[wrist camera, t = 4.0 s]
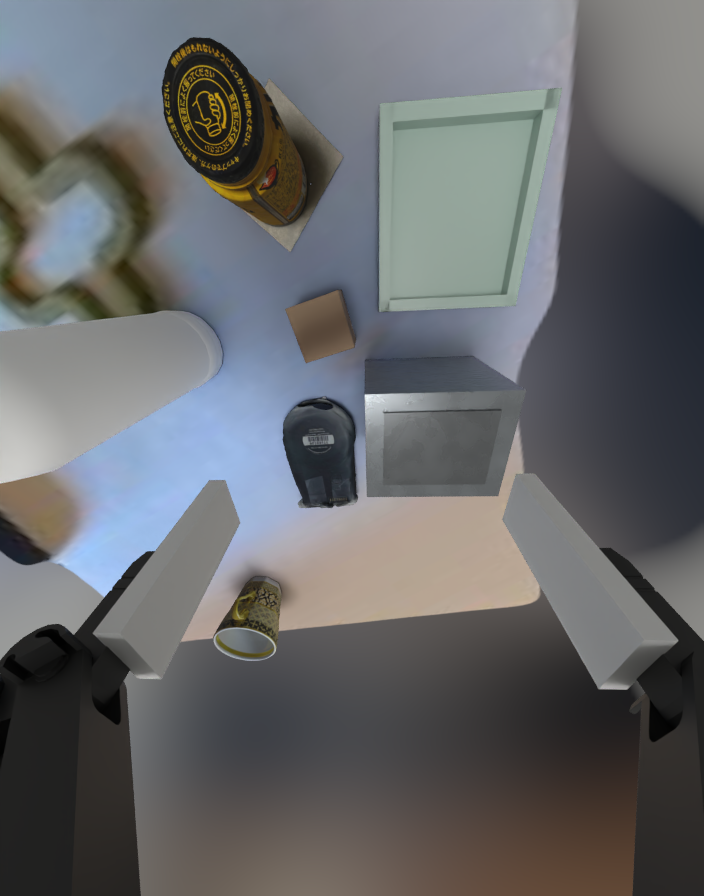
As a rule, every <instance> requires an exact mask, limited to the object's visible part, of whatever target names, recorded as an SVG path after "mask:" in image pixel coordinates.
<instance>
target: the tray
mask: <svg viewBox="0 0 704 896" xmlns="http://www.w3.org/2000/svg"><path fill="white" fill-rule="evenodd" d="M561 91H562V88H554V89H543V90H531V91H520V92H508V93H496V94H485V95H473V96H462V97H450V98H439V99H427V100H416V101H404V102H393V103H381V104H380V110H379V276H378V311H379V312H390V311H413V310H435V309H458V308H480V307H503V306H515V305H516V301H517V296H518V291H519V287H520V282H521V277H522V273H523V268H524V263H525V259H526V254H527V249H528V245H529V240H530V235H531V231H532V226H533V221H534V217H535V212H536V207H537V203H538V198H539V193H540V189H541V184H542V179H543V175H544V170H545V165H546V161H547V156H548V151H549V147H550V142H551V137H552V133H553V128H554V123H555V119H556V114H557V109H558V105H559V100H560V96H561Z"/></svg>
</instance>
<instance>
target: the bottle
mask: <svg viewBox="0 0 704 896" xmlns="http://www.w3.org/2000/svg"><path fill="white" fill-rule="evenodd" d="M222 358H223V352H222V348H221V344H220V340H219V339H218V337H217V335H216V334H215V332H214V331H213V329H212V328H211V327H210V326H209V325H208V324H207V323H206V322H205V321H204V320H203V319H202V318H200V317H198V316H196V315H194V314H192V313H190V312H184V311H177V310H176V311H169V310H168V311H159V312H156V313H151V314H143V315H134V316H126V317H118V318H110V319H101V320H93V321H85V322H76V323H68V324H60V325H51V326H43V327H35V328H26V329H18V330H10V331H1V332H0V483H5V482H10V481H15V480H19V479H23V478H28V477H32V476H36V475H40V474H43V473H47V472H51V471H54V470H57V469H59V468H60V467H62V466H64V465H65V464H67V463H69V462H70V461H72V460H74V459H76V458H77V457H79V456H81V455H82V454H84V453H86V452H87V451H89V450H91V449H93V448H94V447H96V446H98V445H99V444H101V443H103V442H104V441H106V440H108V439H110V438H111V437H113V436H115V435H116V434H118V433H120V432H121V431H123V430H125V429H127V428H128V427H130V426H132V425H133V424H135V423H137V422H138V421H140V420H142V419H144V418H145V417H147V416H149V415H150V414H152V413H154V412H155V411H157V410H159V409H161V408H162V407H164V406H166V405H167V404H169V403H171V402H172V401H174V400H176V399H178V398H179V397H181V396H183V395H184V394H186V393H188V392H189V391H191V390H193V389H195V388H198V387H200V386H202V385H203V384H205V383H206V382H207V381H208V380H210V379H211V378H212V377H214V376H215V375H216V374H217V373H218V371H219V369H220V367H221V366H222Z"/></svg>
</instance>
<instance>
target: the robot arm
mask: <svg viewBox="0 0 704 896" xmlns="http://www.w3.org/2000/svg"><path fill="white" fill-rule="evenodd" d="M502 520H503V522H504V523H505V525H506V527H507V529H508V530H509V532H510V534H511V536H512V537H513V539H514V541H515V543H516V544H517V546H518V548H519V550H520V551H521V553H522V555H523V557H524V559H525V560H526V562H527V564H528V566H529V567H530V569H531V571H532V573H533V574H534V576H535V578H536V580H537V581H538V583H539V585H540V587H541V588H542V590H543V592H544V594H545V595H546V597H547V599H548V601H549V602H550V604H551V606H552V608H553V609H554V611H555V613H556V615H557V616H558V618H559V620H560V622H561V623H562V625H563V627H564V629H565V631H566V632H567V634H568V636H569V638H570V639H571V641H572V643H573V645H574V646H575V648H576V650H577V651H578V653H579V655H580V657H581V659H582V660H583V662H584V664H585V665H586V667H587V669H588V670H589V672H590V674H591V676H592V678H593V680H594V681H595V683H596V685H597V687H598V688H599V689H626V690H627V689H628V688H629V687H630V686H631V685H632V684H633V683H634V682H635V681H636V680H637V681H638V682H639V684H640V685H641V687H642V688H643V690H644V691H645V694H644V695H642V696H641V697H640V698H639V699H638V700H637V701H636V702H634V703H633V704H632V706H631V708H630V712H631V713H633V714H636V713H637V712H638V711H639V710H641V727H640V728H641V729H640V749H639V770H638V791H637V812H636V835H635V854H634V876H633V896H704V641H703V640H702V639H701V638H700V637H699V636H698V635H697V634H696V633H695V631H694V630H693V629H692V628H691V627H690V626H689V625H688V624H687V623H686V622H685V621H684V620H683V619H682V618H681V616H680V615H679V614H678V613H677V612H676V611H675V610H674V609H673V608H672V607H671V606H670V605H669V604H668V602H666V600H665V599H664V598H663V597H662V596H661V595H660V594H659V593H658V592H656V591H655V590H654V587H652V585H651V584H650V583H649V582H648V581H647V580H646V579H643V576H642V575H641V573H639V572H638V570H637V569H636V568H635V567H634V566H633V565H632V564H631V563H630V562H629V561H628V560H627V559H625V558H624V557H623V556H621V555H620V554H618V553H617V552H615V551H614V550H613V549H611V548H598V547H597V546H596V544H595V543H594V542H593V541H592V540H591V539H590V538H589V536H588V535H587V534H586V533H585V532H584V530H583V529H582V528H581V527H580V526H579V525H578V524H577V523H576V521H575V520H574V519H573V518H572V517H571V516H570V514H569V513H568V512H567V511H566V510H565V509H564V507H563V506H562V505H561V504H560V503H559V502H558V501H557V499H556V498H555V497H554V496H553V495H552V493H551V492H550V491H549V490H548V489H547V488H546V487H545V485H544V484H543V483H542V482H541V481H540V480H539V478H538V477H537V476H536V475H535V474H516V476H515V480H514V483H513V486H512V490H511V493H510V496H509V500H508V503H507V506H506V509H505V513H504V516H503V519H502ZM239 524H240V521H239V518H238V515H237V512H236V509H235V507H234V504H233V501H232V498H231V495H230V492H229V490H228V487H227V484H226V481H225V480H209V481H208V483H207V484H206V485H205V487H204V488H203V489H202V490H201V492H200V493H199V494H198V496H197V497H196V498H195V500H194V501H193V502H192V504H191V505H190V506H189V508H188V509H187V510H186V511H185V513H184V514H183V515H182V517H181V518H180V519H179V521H178V522H177V523H176V525H175V526H174V527H173V528H172V530H171V531H170V532H169V534H168V535H167V536H166V538H165V539H164V540H163V542H162V543H161V544H160V546H159V547H158V548H157V549H156V551H147V552H146V553H144V554H143V555H142V556H141V557H139V558H138V559H137V560H136V561H134V562H133V563H132V564H131V566H130V567H129V568H128V569H127V570H126V572H125V573H124V574H123V575H122V578H121V579H119V580H118V582H117V583H116V584H115V585H114V586H113V589H112V591H109V593H108V594H107V595H106V596H105V598H104V599H103V600H102V601H101V603H100V604H99V605H98V606H97V608H96V609H95V610H94V611H93V612H92V614H91V615H90V616H89V617H88V619H87V620H86V621H85V622H84V624H83V625H82V626H81V627H80V629H79V630H78V631H77V632H76V633H75V635H73V634H72V633H71V632H70V631H69V630H68V629H66V628H65V627H64V626H62V625H60V624H52V625H47V626H45V627H42V628H39V629H37V630H35V631H34V632H32V633H30V634H29V635H27V636H25V637H24V638H22V639H21V640H20V641H19V642H18V643H16V644H15V645H14V646H13V647H12V648H10V650H9V651H8V652H7V653H6V654H5V656H4V657H3V658H2V659H1V660H0V896H141V894H140V879H139V864H138V849H137V837H136V836H137V835H136V821H135V806H134V791H133V777H132V762H131V747H130V733H129V718H128V704H127V689H126V685H125V683H124V679H125V677H126V676H127V674H128V672H129V671H131V672H132V673H133V674H134V675H135V676H136V677H137V678H139V679H162V677H163V675H164V673H165V671H166V669H167V667H168V665H169V663H170V661H171V659H172V657H173V655H174V653H175V651H176V649H177V647H178V645H179V643H180V641H181V639H182V637H183V635H184V633H185V631H186V629H187V627H188V625H189V623H190V621H191V619H192V617H193V615H194V613H195V611H196V610H197V608H198V606H199V604H200V602H201V600H202V598H203V596H204V594H205V592H206V590H207V588H208V586H209V584H210V582H211V580H212V578H213V576H214V574H215V572H216V570H217V568H218V566H219V564H220V562H221V560H222V558H223V556H224V554H225V552H226V550H227V548H228V546H229V544H230V542H231V540H232V538H233V536H234V534H235V532H236V530H237V528H238V526H239Z"/></svg>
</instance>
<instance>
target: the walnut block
mask: <svg viewBox="0 0 704 896" xmlns="http://www.w3.org/2000/svg"><path fill="white" fill-rule="evenodd" d="M285 310H286V313H287V315H288V318H289V320H290V323H291V326H292V328H293V331H294V333H295V336H296V339H297V341H298V344H299V346H300V349H301V352H302V354H303V357H304V359H305V362H306V363H308V362H311V361H314V360H317V359H320V358H324V357H327V356H330V355H333V354H336V353H339V352H342V351H345V350H349V349H352V348H355V343H356V337H355V334H354V330H353V327H352V323H351V320H350V317H349V313H348V310H347V306H346V303H345V299H344V296H343V292H342V290H336V291H334V292H331V293H328V294H325V295H323V296H320V297H317V298H314V299H312V300H309V301H306V302H303V303H301V304H298V305H295V306H292V307H290V308H287V309H285Z"/></svg>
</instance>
